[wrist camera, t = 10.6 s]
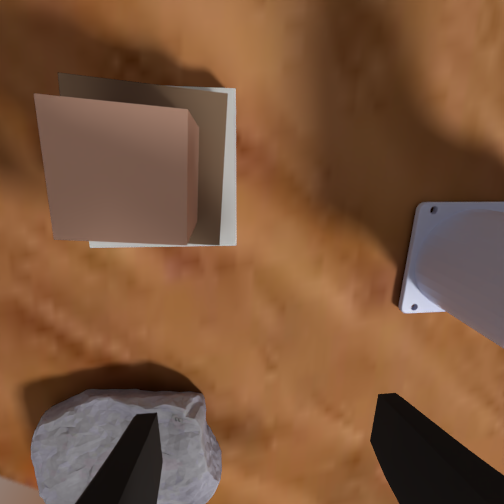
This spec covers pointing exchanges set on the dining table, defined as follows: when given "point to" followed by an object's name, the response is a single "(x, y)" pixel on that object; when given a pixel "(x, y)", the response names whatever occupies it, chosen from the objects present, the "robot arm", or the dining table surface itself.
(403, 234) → the dining table surface
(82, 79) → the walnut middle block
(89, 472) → the stone block
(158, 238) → the terracotta cube
